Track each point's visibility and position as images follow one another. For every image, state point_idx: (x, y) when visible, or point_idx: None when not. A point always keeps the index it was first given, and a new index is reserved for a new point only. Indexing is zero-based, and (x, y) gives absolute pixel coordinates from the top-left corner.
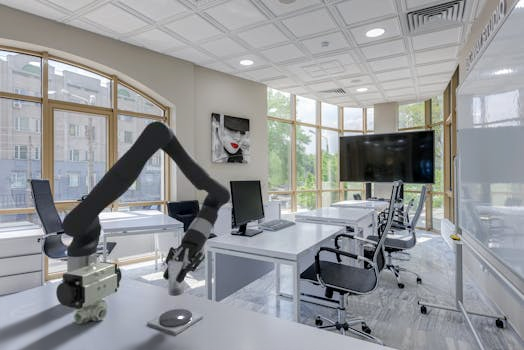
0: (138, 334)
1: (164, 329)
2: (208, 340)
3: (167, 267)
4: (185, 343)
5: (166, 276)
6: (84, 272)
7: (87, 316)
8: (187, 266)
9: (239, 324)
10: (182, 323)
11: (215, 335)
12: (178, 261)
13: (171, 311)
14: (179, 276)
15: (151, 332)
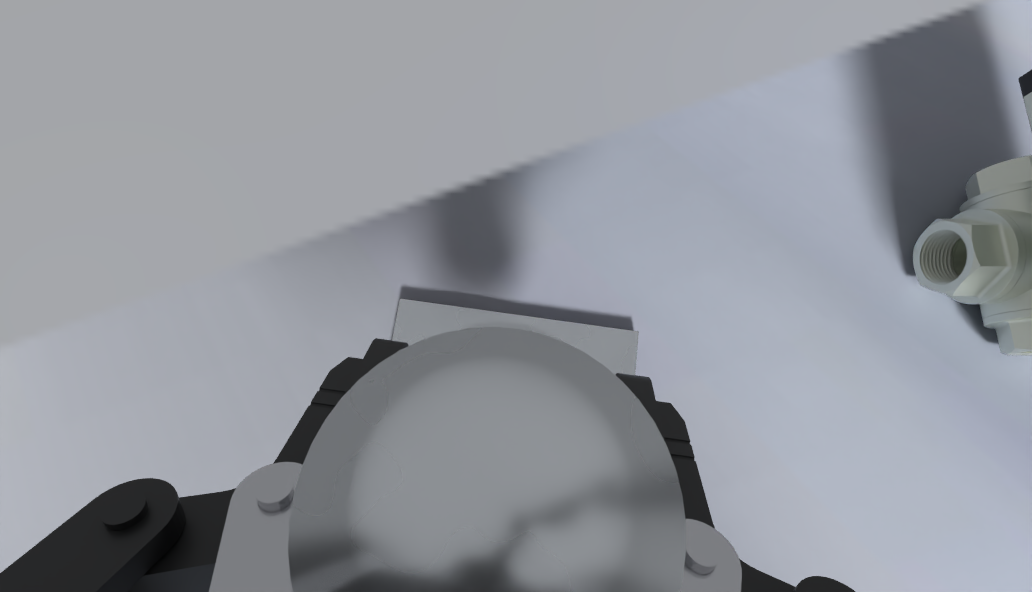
0: (600, 236)
1: (491, 312)
2: (201, 323)
3: (707, 515)
4: (310, 256)
5: None
6: None
7: (980, 196)
8: (219, 542)
9: None
10: None
11: (182, 382)
12: (415, 526)
13: None
14: (360, 377)
15: (549, 276)
